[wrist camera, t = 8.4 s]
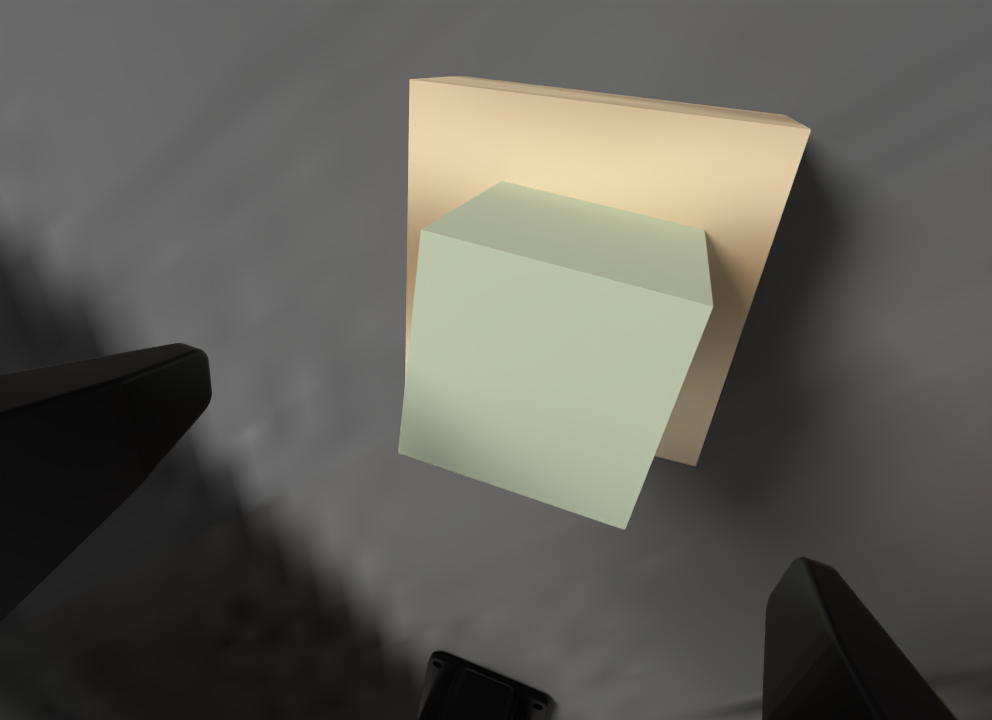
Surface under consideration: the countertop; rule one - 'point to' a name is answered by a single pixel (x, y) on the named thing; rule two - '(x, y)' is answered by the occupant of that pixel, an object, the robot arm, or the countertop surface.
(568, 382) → the sage cube
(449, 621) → the countertop surface
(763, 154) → the maple block
